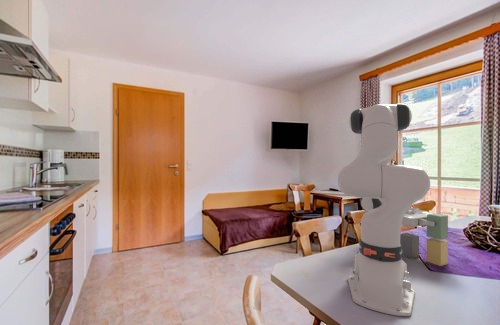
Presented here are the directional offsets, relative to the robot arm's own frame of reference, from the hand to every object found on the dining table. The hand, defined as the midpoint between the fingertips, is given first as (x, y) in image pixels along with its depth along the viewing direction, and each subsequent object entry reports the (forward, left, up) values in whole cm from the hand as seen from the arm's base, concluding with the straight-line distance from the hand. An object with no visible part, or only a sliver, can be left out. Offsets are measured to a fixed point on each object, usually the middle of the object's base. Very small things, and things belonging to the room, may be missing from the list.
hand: (439, 223), depth 96 cm
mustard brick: (+1, +1, -16) cm, 16 cm away
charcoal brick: (+4, +10, -16) cm, 19 cm away
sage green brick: (+1, +1, -6) cm, 6 cm away
